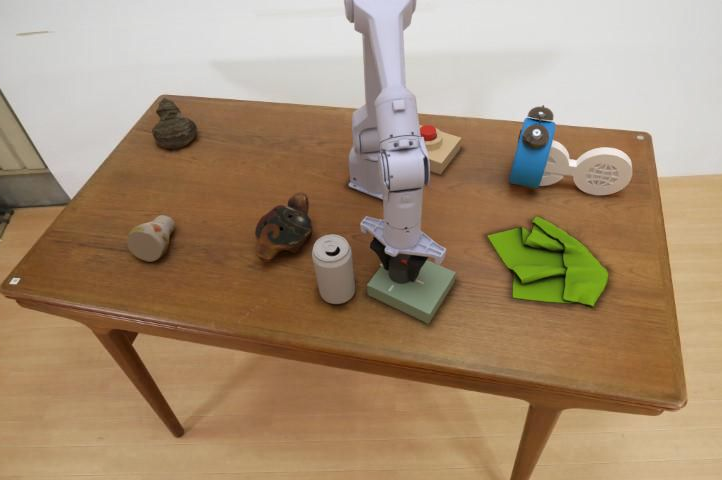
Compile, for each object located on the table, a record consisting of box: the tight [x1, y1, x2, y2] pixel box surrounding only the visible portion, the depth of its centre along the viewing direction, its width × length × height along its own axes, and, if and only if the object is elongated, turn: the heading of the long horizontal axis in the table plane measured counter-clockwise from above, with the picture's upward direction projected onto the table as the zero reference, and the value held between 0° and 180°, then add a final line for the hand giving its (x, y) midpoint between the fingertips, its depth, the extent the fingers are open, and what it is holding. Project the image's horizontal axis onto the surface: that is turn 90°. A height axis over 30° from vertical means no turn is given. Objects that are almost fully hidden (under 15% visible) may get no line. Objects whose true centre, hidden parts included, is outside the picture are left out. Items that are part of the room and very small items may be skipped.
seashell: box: [151, 97, 198, 150], centre depth 112 cm, size 11×12×10 cm
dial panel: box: [366, 259, 457, 325], centre depth 84 cm, size 12×10×3 cm
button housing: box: [419, 124, 462, 175], centre depth 107 cm, size 12×10×5 cm
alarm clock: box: [508, 104, 557, 193], centre depth 96 cm, size 13×6×15 cm, turn 160°
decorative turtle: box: [254, 191, 313, 263], centre depth 90 cm, size 10×15×8 cm, turn 155°
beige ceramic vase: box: [125, 214, 176, 262], centre depth 92 cm, size 8×10×10 cm
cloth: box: [486, 216, 610, 307], centre depth 87 cm, size 20×22×2 cm
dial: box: [389, 253, 411, 284], centre depth 82 cm, size 4×4×4 cm
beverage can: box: [311, 233, 356, 305], centre depth 81 cm, size 6×6×12 cm
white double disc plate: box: [539, 139, 633, 196], centre depth 96 cm, size 22×2×10 cm, turn 73°
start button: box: [420, 124, 437, 141], centre depth 104 cm, size 4×4×2 cm
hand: (401, 271), depth 83 cm, fingers closed on dial, 4 cm apart
